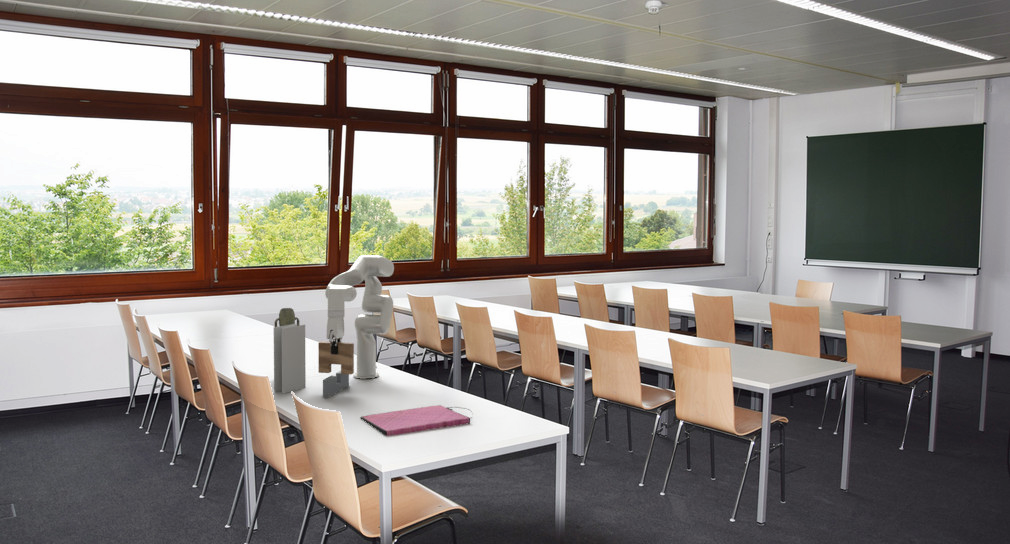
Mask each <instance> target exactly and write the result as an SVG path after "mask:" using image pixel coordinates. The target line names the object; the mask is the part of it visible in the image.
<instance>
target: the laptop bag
mask: <svg viewBox="0 0 1010 544" xmlns="http://www.w3.org/2000/svg"><path fill="white" fill-rule="evenodd" d="M455 408H459V409H461V407H460V406H455ZM463 409H464V410H465V409H466V410H469V411H470V412H471V413H472V415H474V413H473V412H472V410H471V409H470V408H466V407H463ZM473 418H474V416H472V417H469V416H467V415H464V414H461V413H459V412H456V411H454V409H453V406H450V407H445V406H443V405H441V404H439V405H431V406H430V405H429V406H422V407H416V408H410V409H409V408H408V409H401V410H395V411H388V412H382V413H381V412H379V413H375V414H374V413H373V414H369V415H362V416H360V420H362V419H363V420H364V422H365V421H366V422H367V423H366V422H365V423H366V424H368V423H369V424H370V425H369V424H368V425H369V426H371V425H372V426H373V427H372V426H371V427H372V428H374V429H375V428H376V429H375V430H377V431H378V430H379V432H380V433H381V432H382V433H381V434H383V435H384V436H386V437H388V436H389V435H390V436H394V435H401V434H407V433H408V434H409V433H415V431H417V432H422V430H423V431H428V430H427V429H430V430H434V429H433V428H436V429H441V428H440V427H443V428H448V427H447V426H449V427H454V425H456V426H461V425H460V424H462V425H466V423H468V424H470V423H471V419H473ZM363 420H362V421H363Z"/></svg>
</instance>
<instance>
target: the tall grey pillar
mask: <svg viewBox="0 0 1010 544" xmlns="http://www.w3.org/2000/svg"><path fill="white" fill-rule="evenodd" d="M306 374H307V373H306V324H301V325H300V324H299V326H297V323H295V324H292V325H285V326H277V327H275V326H273V392H274V393H277V392H280V391H281V394H282V393H283V394H286V392H287V393H290V392H293V391H299V390H302V389H306V382H307V381H306V376H307V375H306ZM291 390H293V391H291ZM276 391H277V392H276Z"/></svg>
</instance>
